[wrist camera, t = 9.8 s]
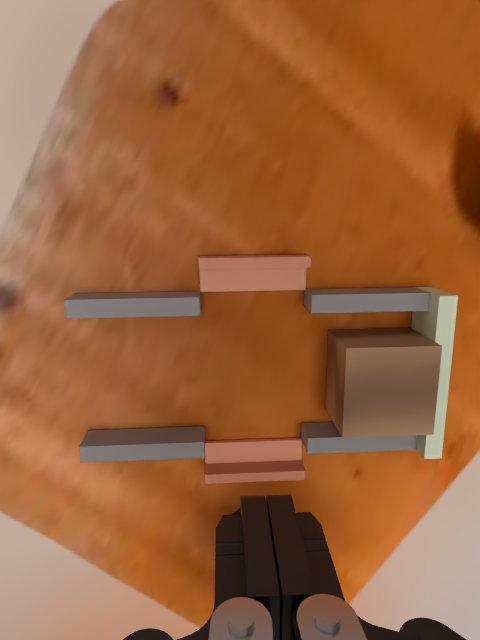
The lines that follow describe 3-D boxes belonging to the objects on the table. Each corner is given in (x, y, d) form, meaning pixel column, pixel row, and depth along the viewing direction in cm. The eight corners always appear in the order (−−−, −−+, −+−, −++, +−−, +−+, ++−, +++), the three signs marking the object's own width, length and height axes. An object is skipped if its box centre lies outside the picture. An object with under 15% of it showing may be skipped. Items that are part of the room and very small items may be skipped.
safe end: (414, 287, 26) (439, 296, 23) (431, 286, 26) (458, 295, 23) (402, 433, 28) (424, 458, 26) (418, 433, 28) (441, 458, 26)
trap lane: (72, 257, 25) (60, 261, 23) (417, 252, 26) (433, 255, 24) (92, 474, 28) (83, 493, 26) (400, 462, 29) (413, 480, 27)
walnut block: (327, 328, 27) (346, 348, 23) (409, 326, 27) (442, 345, 23) (324, 406, 28) (342, 437, 24) (403, 404, 28) (433, 434, 24)
